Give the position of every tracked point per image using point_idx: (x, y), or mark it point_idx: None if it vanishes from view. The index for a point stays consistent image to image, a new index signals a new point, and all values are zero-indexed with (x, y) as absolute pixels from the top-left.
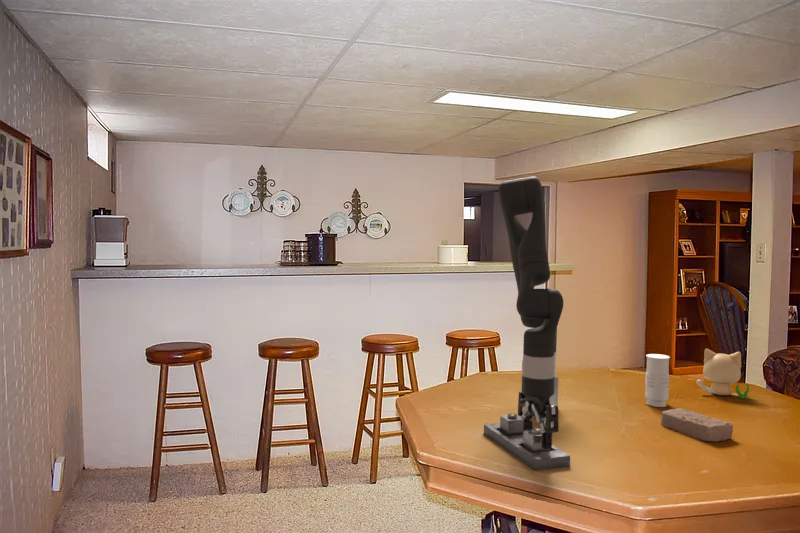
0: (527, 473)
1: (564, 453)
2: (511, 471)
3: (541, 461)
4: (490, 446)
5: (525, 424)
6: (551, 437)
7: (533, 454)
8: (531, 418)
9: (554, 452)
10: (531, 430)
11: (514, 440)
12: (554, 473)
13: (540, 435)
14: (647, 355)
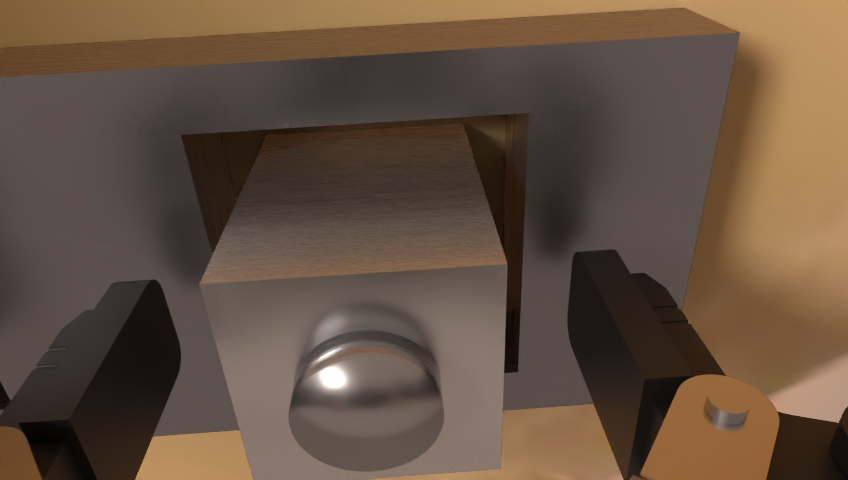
0: None
1: (649, 64)
2: (579, 461)
3: None
4: None
5: (124, 475)
6: (708, 356)
7: (548, 366)
8: (43, 475)
9: (579, 165)
10: (275, 416)
11: None
12: (747, 229)
13: (497, 391)
14: None
